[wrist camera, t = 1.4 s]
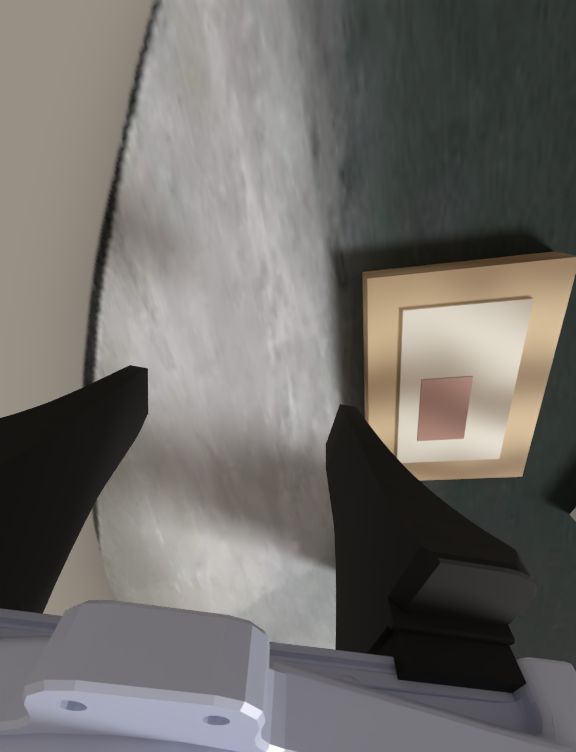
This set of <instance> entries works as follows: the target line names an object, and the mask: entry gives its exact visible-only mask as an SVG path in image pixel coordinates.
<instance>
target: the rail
mask: <svg viewBox="0 0 576 752" xmlns="http://www.w3.org/2000/svg"><path fill="white" fill-rule="evenodd" d="M570 515H571V516H572V518H573V519H574V520H575V521H576V507H575V509H574V510H573V511H572V512H571V513H570Z"/></svg>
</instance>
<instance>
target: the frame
mask: <svg viewBox="0 0 576 752" xmlns="http://www.w3.org/2000/svg"><path fill="white" fill-rule="evenodd" d="M575 274H576V256H574V255H569V254H564V253H559V252H545V253H535V254H526V255H516V256H507V257H498V258H488V259H479V260H469V261H460V262H451V263H441V264H432V265H422V266H413V267H404V268H394V269H385V270H375V271H366V272H362V275H363V338H364V402H365V420H366V421H367V422H368V424H369V425H370V426H371V428H372V429H373V430H374V432H375V433H376V434H377V435H378V437H379V438H380V439H381V440H382V442H383V443H384V444H385V445H386V446H387V448H388V449H389V450H390V451H391V452H392V453H393V454H394V455H395V457H396V458H397V459H398V460H399V461H400V462H401V463H402V464H403V465H404V466H405V467H406V468H407V469H408V470H409V471H410V472H411V473H412V474H413V475H414V476H415V477H416V478H417V479H418V480H445V479H471V478H498V477H522V475H523V471H524V467H525V463H526V459H527V456H528V452H529V448H530V444H531V441H532V437H533V433H534V429H535V425H536V422H537V418H538V414H539V410H540V406H541V403H542V399H543V395H544V391H545V387H546V384H547V380H548V376H549V372H550V368H551V365H552V361H553V357H554V353H555V349H556V346H557V342H558V338H559V334H560V331H561V327H562V323H563V319H564V315H565V312H566V308H567V304H568V300H569V296H570V293H571V289H572V285H573V281H574V277H575Z"/></svg>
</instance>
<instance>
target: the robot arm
mask: <svg viewBox="0 0 576 752" xmlns="http://www.w3.org/2000/svg"><path fill="white" fill-rule="evenodd" d="M147 415H148V368H142V367H137V366H131V365H130V366H128V367H125V368H123V369H121V370H119V371H117V372H115V373H113V374H111V375H109V376H107V377H104V378H102V379H100V380H98V381H96V382H94V383H92V384H90V385H88V386H86V387H83V388H81V389H79V390H77V391H74V392H72V393H70V394H67V395H65V396H63V397H60V398H58V399H56V400H53V401H51V402H48V403H46V404H43V405H40V406H37V407H34V408H32V409H28V410H26V411H22V412H19V413H16V414H13V415H10V416H6V417H3V418H0V752H576V671H575V670H574V668H573V666H572V665H571V664H569V663H568V662H562V661H555V660H547V659H539V658H521V659H518V660H516V659H515V657H514V655H513V652H512V650H511V648H510V646H509V645H512V644H514V637H513V635H512V632H511V630H510V628H509V626H508V624H510V623H511V622H512V621H513V620H514V619H515V618H516V617H517V616H519V615H520V614H521V613H522V612H523V611H524V610H525V609H527V608H528V606H529V605H530V604H531V603H532V602H533V600H534V597H535V594H536V592H537V589H536V584H535V582H534V580H533V578H532V577H531V575H530V573H529V571H528V570H527V568H526V566H525V565H524V563H523V561H522V560H521V558H520V556H519V555H518V553H517V551H516V550H515V549H513V548H512V547H510V546H509V545H507V544H505V543H504V542H502V541H501V540H499V539H497V538H496V537H494V536H492V535H491V534H489V533H488V532H486V531H484V530H483V529H481V528H480V527H478V526H477V525H475V524H474V523H472V522H471V521H470V520H468V519H467V518H465V517H464V516H462V515H461V514H460V513H458V512H457V511H456V510H454V509H453V508H452V507H450V506H449V505H448V504H446V503H445V502H444V501H443V500H441V499H440V498H439V497H438V496H436V495H435V494H434V493H433V492H432V491H430V490H429V489H428V488H427V487H426V486H425V485H424V484H422V483H421V482H420V481H419V480H418V479H417V478H416V477H415V476H414V475H413V474H412V473H411V472H410V471H409V470H408V469H407V468H406V467H405V466H404V465H403V464H402V463H401V462H400V461H399V460H398V459H397V458H396V457H395V455H394V454H393V453H392V452H391V451H390V450H389V449H388V448H387V446H386V445H385V444H384V443H383V442H382V440H381V439H380V438H379V437H378V435H377V434H376V433H375V432H374V430H373V429H372V428H371V426H370V425H369V424H368V422H367V421H366V420H365V418H364V417H363V416H362V415H361V413H360V412H359V411H358V409H357V408H356V407H352V406H347V405H341V404H340V406H339V409H338V412H337V414H336V417H335V420H334V423H333V426H332V429H331V432H330V434H329V437H328V440H327V443H326V471H327V479H328V486H329V493H330V500H331V507H332V514H333V521H334V532H335V555H336V650H332V649H324V648H316V647H308V646H300V645H292V644H284V643H276V642H269V640H268V636H267V634H266V633H265V632H264V631H263V630H262V629H260V628H259V627H258V626H256V625H255V624H253V623H252V622H251V621H248V620H245V619H241V618H237V617H233V616H230V615H224V614H216V613H208V612H200V611H193V610H185V609H177V608H169V607H162V606H154V605H146V604H138V603H131V602H123V601H114V600H89V601H86V602H84V603H81V604H79V605H76V606H74V607H72V608H70V609H68V610H66V611H65V612H64V614H63V616H57V615H49V614H43V612H44V609H45V607H46V604H47V602H48V600H49V597H50V595H51V593H52V590H53V588H54V586H55V584H56V582H57V579H58V577H59V575H60V573H61V571H62V569H63V566H64V564H65V562H66V560H67V558H68V556H69V553H70V551H71V549H72V547H73V545H74V543H75V541H76V539H77V537H78V535H79V533H80V531H81V529H82V527H83V525H84V523H85V521H86V519H87V517H88V515H89V513H90V511H91V509H92V507H93V505H94V504H95V502H96V500H97V498H98V496H99V494H100V493H101V491H102V489H103V488H104V486H105V485H106V483H107V482H108V480H109V478H110V477H111V475H112V474H113V472H114V471H115V469H116V468H117V466H118V465H119V463H120V462H121V460H122V459H123V457H124V456H125V454H126V453H127V451H128V450H129V448H130V447H131V445H132V444H133V442H134V441H135V439H136V437H137V436H138V434H139V432H140V430H141V428H142V426H143V423H144V421H145V419H146V417H147Z"/></svg>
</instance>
